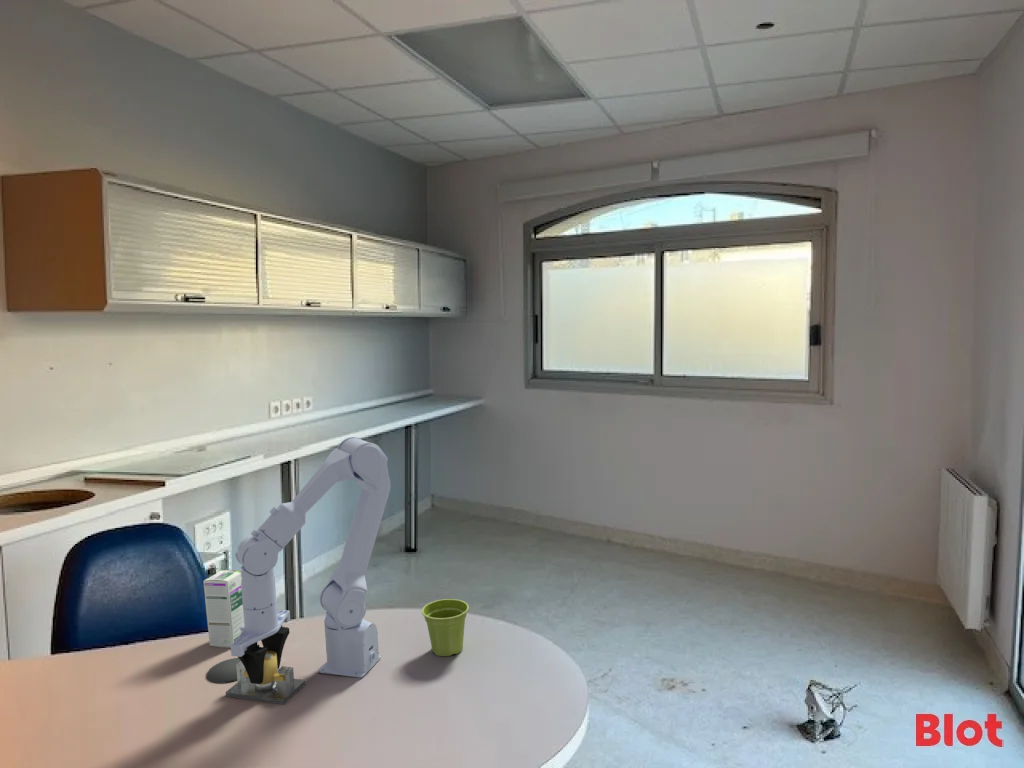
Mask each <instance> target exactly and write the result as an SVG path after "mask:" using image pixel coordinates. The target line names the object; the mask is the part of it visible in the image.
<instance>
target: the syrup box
mask: <svg viewBox="0 0 1024 768" xmlns="http://www.w3.org/2000/svg"><path fill="white" fill-rule="evenodd" d="M241 580H242V577H241V570H235V569H229V570H228V569H227V570H219V571H218V572H217V573H215V574H213V575H211V576H210V577H207V578H205V579H204V580H203V581H202V582H203V590H204V602H205V611H206V612H205V613H206V621H207V630H208V641H209V646H210V647H215V648H217V647H218V648H230V649H231V645H232V644H233V643H234V642H235V641H236V640H237V638H238V637H239V635H240V634H241V633H242V631H241V630H240V627H241V626H242V625H244V613H243V601H242V588H241Z"/></svg>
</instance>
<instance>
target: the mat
mask: <svg viewBox="0 0 1024 768" xmlns="http://www.w3.org/2000/svg"><path fill="white" fill-rule="evenodd" d="M239 662H241V660H240V659H239V658H238V657H233V658H229V659H226V660H222V661H220V662H218V663H216V664H214V665H212V667H210V668H209V669H208V671H207V673H206V677H207V679H208V680H209V681H211V682H213V683H216V684H217V683H218V684H219V683H220V684H223V683H224V684H226V683H232V682H238V681H237V668H236V665H237V664H238V663H239ZM245 671H246V670H245Z"/></svg>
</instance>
